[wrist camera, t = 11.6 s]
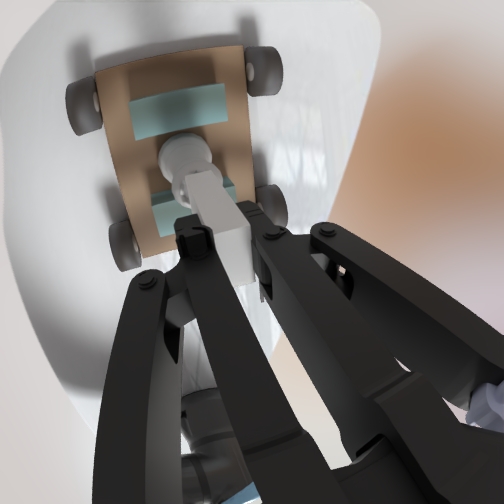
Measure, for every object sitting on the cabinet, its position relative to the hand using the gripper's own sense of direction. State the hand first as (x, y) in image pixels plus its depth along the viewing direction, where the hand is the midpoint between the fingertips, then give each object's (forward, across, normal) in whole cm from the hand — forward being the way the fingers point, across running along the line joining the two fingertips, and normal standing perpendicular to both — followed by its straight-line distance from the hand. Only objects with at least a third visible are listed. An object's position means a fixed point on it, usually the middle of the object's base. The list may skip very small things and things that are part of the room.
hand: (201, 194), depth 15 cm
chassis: (+10, 0, 0) cm, 10 cm away
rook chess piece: (+9, 0, 0) cm, 9 cm away
